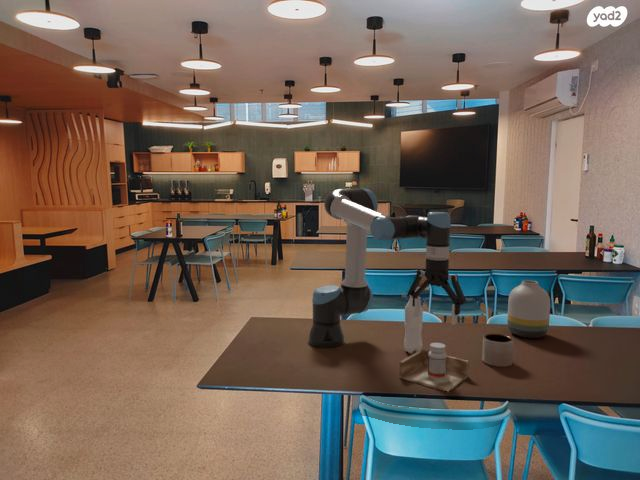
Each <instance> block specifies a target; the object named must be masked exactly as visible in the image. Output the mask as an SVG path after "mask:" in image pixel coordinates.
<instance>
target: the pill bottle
mask: <svg viewBox="0 0 640 480" xmlns="http://www.w3.org/2000/svg"><path fill="white" fill-rule="evenodd" d="M446 346H447V345H445V344H444V343H441V342H432V343H430V344H429V350H428V351H429V353H428V376H429V377H430V378H432V379H435V380H442V379H445V378H446V362H447V356H448V354H447V353H446V349H447V348H446Z"/></svg>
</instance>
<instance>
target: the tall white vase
mask: <svg viewBox="0 0 640 480" xmlns="http://www.w3.org/2000/svg"><path fill="white" fill-rule="evenodd" d="M417 290H418V289H416V290H415V292H416V291H417ZM418 297H420V295H419V296H418ZM414 312H415V307H413V297H412V296H410V295H409V300H408V302H407V303H406V305H405V308H404V322H403V324H404V325H403V326H404V329H405V330H404V332H405V335H404V340H403V347H404V350H405V352H408V353H409V354H414V353H416V352H418V351H420V350H421V349H422V348H423V340H422V339H423V337H422V330H423V325H424V324H423V315H424V310H423V306H422V303H420V316H418V317H414Z"/></svg>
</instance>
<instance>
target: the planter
mask: <svg viewBox="0 0 640 480" xmlns="http://www.w3.org/2000/svg"><path fill="white" fill-rule="evenodd" d="M514 342H515V341H514V338H513V337H512V336H509V335H506V334H504V333H503V334H502V333H493V332H492V333H486V334H483V336H482V349H481V352H482V353H481V361H482V362H483V363H485V364H486V365H488V366H491V367H496V368H506V367H510V366H512V365H513V362H514Z"/></svg>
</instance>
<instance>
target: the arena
mask: <svg viewBox="0 0 640 480" xmlns="http://www.w3.org/2000/svg"><path fill="white" fill-rule="evenodd" d="M429 351H430V350H427V349H422V348H421V350H420V351H418V352H413V353H412V354H411V355H409V356H407V357H406V358H404V359H402V360H400V361H399V379H402V380H406V381H409V382H412V383H415V384H419V385H422V386H425V387H430V388H433V389H435V390H438V389H439V391H442V390H443V391H442V392H445V391H447V392H446V393H450V392H451V391H452V390H454V389H455V388H456V387H457V386H458V385H460V384H461V383H462V382H464V381H465V380H466V379H467V378H468V377H469V368H470V367H469V366H470V365H469V364H470V362H469V360H466V359H463V358H458V357H454V356H452V355H451V356H450V355H447V362H446V378H445V379H442V380H435V379H432V378H430V377H429V376H428V353H429ZM451 389H452V390H451ZM450 390H451V391H450ZM449 391H450V392H449Z"/></svg>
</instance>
